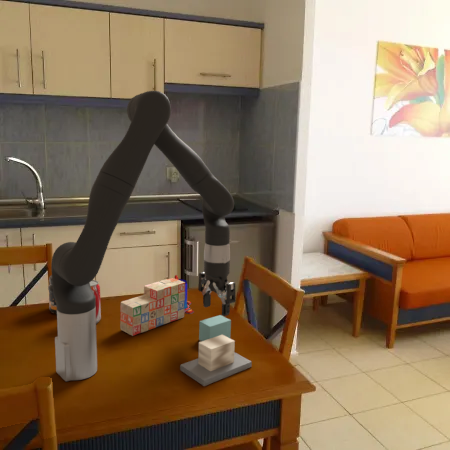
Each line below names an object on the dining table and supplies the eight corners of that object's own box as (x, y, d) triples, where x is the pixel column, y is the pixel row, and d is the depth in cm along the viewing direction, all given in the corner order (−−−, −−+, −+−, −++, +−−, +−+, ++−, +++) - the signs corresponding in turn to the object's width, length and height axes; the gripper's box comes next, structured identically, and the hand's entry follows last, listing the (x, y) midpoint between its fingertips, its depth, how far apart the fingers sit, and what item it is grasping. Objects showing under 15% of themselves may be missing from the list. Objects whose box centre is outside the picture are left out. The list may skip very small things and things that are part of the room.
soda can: (83, 328, 147) (82, 288, 145) (73, 320, 152) (72, 281, 150) (104, 322, 152) (104, 283, 149) (94, 315, 157) (93, 277, 155)
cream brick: (210, 371, 120) (211, 349, 119) (198, 363, 124) (198, 342, 123) (234, 362, 125) (234, 340, 124) (221, 355, 129) (222, 334, 128)
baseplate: (204, 386, 116) (204, 380, 116) (180, 370, 123) (180, 364, 123) (251, 366, 126) (251, 361, 126) (226, 352, 134) (227, 348, 133)
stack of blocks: (132, 336, 142) (132, 298, 139) (119, 330, 146) (119, 292, 143) (184, 316, 158) (185, 281, 155) (171, 311, 162) (172, 276, 159)
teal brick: (209, 346, 138) (210, 326, 137) (199, 340, 142) (199, 321, 140) (230, 338, 143) (230, 320, 142) (219, 333, 147) (220, 315, 146)
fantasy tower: (158, 302, 171) (158, 270, 168) (191, 301, 173) (191, 270, 170) (159, 315, 159) (160, 281, 157) (195, 314, 161) (195, 280, 159)
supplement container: (45, 308, 162) (43, 274, 160) (75, 302, 168) (74, 269, 166) (54, 318, 154) (53, 282, 152) (86, 311, 160) (85, 277, 158)
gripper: (191, 254, 140) (191, 306, 144) (223, 266, 130) (222, 321, 133) (211, 251, 145) (210, 301, 149) (243, 261, 135) (241, 315, 138)
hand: (216, 310), depth 141 cm, fingers open, 8 cm apart
